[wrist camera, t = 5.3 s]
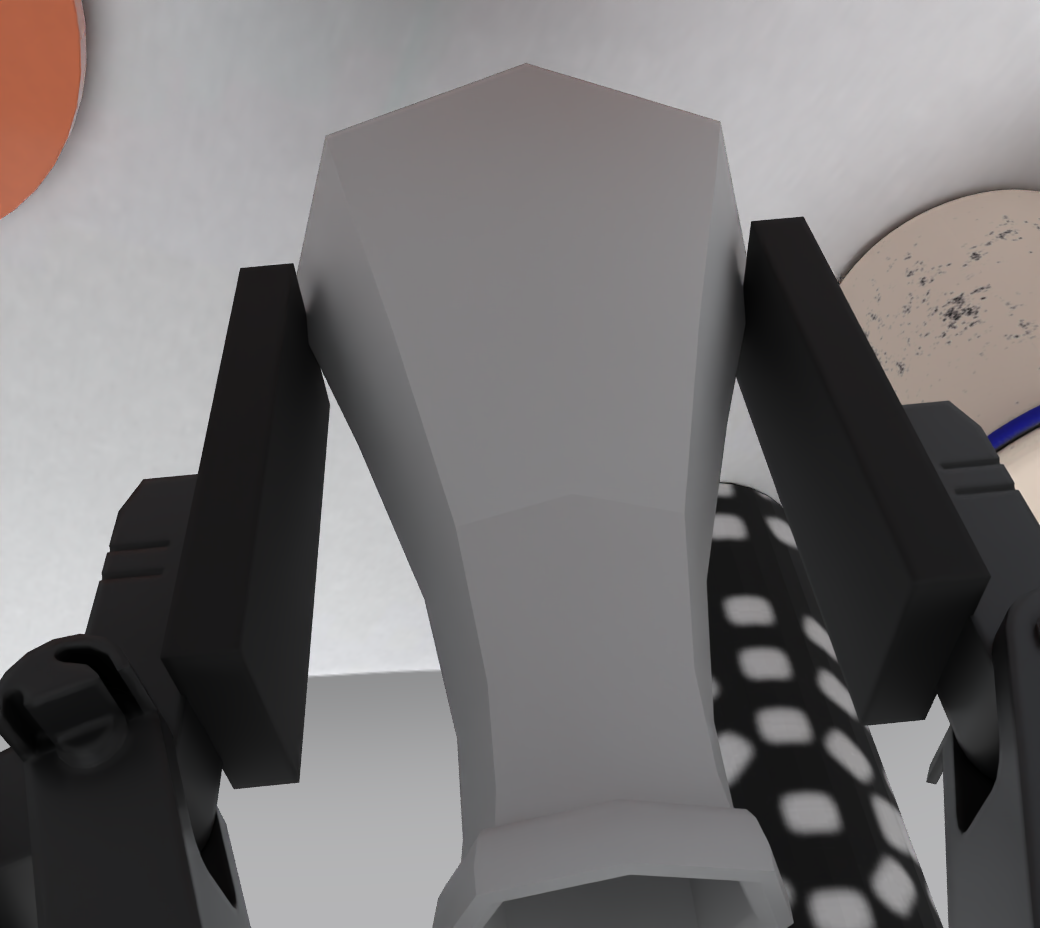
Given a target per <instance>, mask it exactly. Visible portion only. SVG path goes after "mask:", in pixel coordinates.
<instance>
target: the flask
mask: <svg viewBox="0 0 1040 928" xmlns="http://www.w3.org/2000/svg"><path fill="white" fill-rule="evenodd" d="M746 259H747V257H746V251H745V246H744V241H743V236H742V231H741V226H740V221H739V215H738V210H737V205H736V200H735V195H734V190H733V184H732V179H731V174H730V169H729V164H728V159H727V153H726V148H725V143H724V138H723V133H722V128H721V123H720V121H717V120H713V119H710V118H707V117H703V116H700V115H697V114H693V113H690V112H687V111H683V110H680V109H677V108H673V107H670V106H667V105H663V104H660V103H657V102H653V101H650V100H647V99H643V98H640V97H637V96H633V95H630V94H627V93H623V92H620V91H617V90H613V89H610V88H607V87H604V86H600V85H597V84H594V83H590V82H587V81H584V80H580V79H577V78H574V77H570V76H567V75H564V74H560V73H557V72H554V71H550V70H547V69H544V68H540V67H537V66H534V65H530V64H527V63H525V64H522V65H519V66H517V67H514V68H511V69H508V70H506V71H503V72H500V73H497V74H495V75H492V76H489V77H486V78H484V79H481V80H478V81H475V82H472V83H470V84H467V85H464V86H461V87H459V88H456V89H453V90H450V91H448V92H445V93H442V94H439V95H437V96H434V97H431V98H428V99H426V100H423V101H420V102H417V103H415V104H412V105H409V106H406V107H404V108H401V109H398V110H395V111H393V112H390V113H387V114H384V115H382V116H379V117H376V118H373V119H370V120H368V121H365V122H362V123H359V124H357V125H354V126H351V127H348V128H346V129H343V130H340V131H337V132H335V133H332V134H329V135H326V137H325V142H324V147H323V151H322V156H321V161H320V166H319V171H318V175H317V180H316V185H315V190H314V194H313V199H312V204H311V209H310V214H309V218H308V223H307V228H306V233H305V238H304V242H303V247H302V252H301V257H300V261H299V266H298V271H297V279H298V283H299V287H300V291H301V295H302V299H303V302H304V306H305V310H306V317H307V329H308V341H309V345H310V347H311V349H312V351H313V353H314V355H315V358H316V360H317V362H318V364H319V366H320V368H321V370H322V372H323V374H324V376H325V378H326V380H327V382H328V384H329V386H330V388H331V390H332V392H333V394H334V396H335V398H336V400H337V403H338V405H339V407H340V409H341V411H342V413H343V415H344V417H345V419H346V421H347V423H348V425H349V427H350V429H351V431H352V433H353V435H354V437H355V439H356V441H357V443H358V445H359V448H360V450H361V452H362V455H363V457H364V459H365V462H366V464H367V466H368V469H369V471H370V473H371V476H372V478H373V480H374V483H375V485H376V487H377V490H378V492H379V494H380V497H381V499H382V501H383V504H384V506H385V508H386V511H387V513H388V515H389V518H390V520H391V522H392V525H393V527H394V529H395V532H396V534H397V536H398V539H399V541H400V543H401V546H402V548H403V550H404V553H405V555H406V557H407V560H408V562H409V564H410V567H411V569H412V571H413V574H414V576H415V578H416V581H417V583H418V585H419V588H420V590H421V592H422V595H423V597H424V599H425V604H426V608H427V612H428V616H429V621H430V625H431V629H432V634H433V638H434V642H435V646H436V651H437V655H438V659H439V663H440V668H441V672H442V676H443V681H444V685H445V689H446V693H447V697H448V702H449V706H450V710H451V715H452V719H453V723H454V728H455V732H456V736H457V744H458V761H459V777H460V778H459V779H460V797H461V814H462V831H463V846H462V858H461V863H460V865H459V866H458V868H457V869H456V871H455V872H454V874H453V875H452V877H451V878H450V880H449V881H448V883H447V884H446V886H445V887H444V889H443V891H442V893H441V894H440V896H439V898H438V902H437V907H436V912H435V917H434V923H433V928H788V927H789V926H790V925H792V924H793V923H794V922H793V917H792V912H791V907H790V903H789V898H788V895H787V892H786V889H785V887H784V884H783V881H782V878H781V875H780V873H779V870H778V867H777V864H776V862H775V859H774V856H773V853H772V850H771V848H770V845H769V843H768V841H767V839H766V837H765V835H764V833H763V831H762V829H761V827H760V825H759V823H758V821H757V819H756V817H755V816H753V815H752V814H751V813H750V812H749V811H748V810H747V809H737V808H734V807H733V803H732V799H731V794H730V790H729V785H728V781H727V777H726V772H725V768H724V763H723V759H722V755H721V750H720V746H719V741H718V737H717V733H716V728H715V724H714V715H713V696H712V677H711V658H710V639H709V620H708V601H707V582H706V581H707V574H708V566H709V558H710V551H711V543H712V535H713V527H714V520H715V512H716V504H717V497H718V489H719V481H720V474H721V466H722V458H723V450H724V443H725V435H726V427H727V421H728V416H729V411H730V405H731V400H732V394H733V389H734V384H735V378H736V373H737V367H738V362H739V357H740V351H741V346H742V340H743V335H744V330H745V324H746V321H745V306H744V292H743V282H744V274H745V266H746Z"/></svg>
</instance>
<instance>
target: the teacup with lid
mask: <svg viewBox="0 0 1040 928" xmlns="http://www.w3.org/2000/svg"><path fill="white" fill-rule="evenodd" d="M839 286H840V288H841V289H842V291H843V293H844V295H845V297H846V299H847V301H848V303H849V305H850V307H851V309H852V311H853V312H854V314H855V316H856V318H857V320H858V322H859V324H860V326H861V328H862V330H863V332H864V333H865V335H866V337H867V339H868V341H869V343H870V345H871V347H872V349H873V351H874V353H875V355H876V356H877V358H878V360H879V362H880V364H881V366H882V368H883V370H884V372H885V374H886V376H887V378H888V379H889V381H890V383H891V385H892V387H893V389H894V391H895V393H896V395H897V397H898V399H899V400H900V402H901V404H902V405H906V404H917V403H927V402H938V401H950V402H951V403H953V404H954V405H955V406H956V407H958V408H959V409H960V410H961V411H963V412H964V413H965V414H966V415H968V416H969V417H970V418H971V419H972V420H974V421H975V422H976V423H977V424H979V425H980V426H981V427H982V429H983V430H984V432H985V434H986V435H987V437H988V439H989V440H990V442H991V444H992V446H993V447H994V449H995V451H996V452H997V454H998V456H999V457H1000V464H1004V466H1005V467H1006V469H1007V471H1008V472H1009V474H1010V476H1011V478H1012V479H1013V481H1014V483H1015V485H1014V486H1015V490H1019V491H1020V493H1021V494H1022V496H1023V498H1024V499H1025V501H1026V503H1027V505H1028V506H1029V508H1030V510H1031V511H1032V513H1033V515H1034V516H1035V518H1036V520H1037V521H1038V523H1039V525H1040V192H1039V191H1031V190H1012V189H1010V190H996V191H989V192H983V193H978V194H974V195H970V196H965V197H962V198H959V199H956V200H953V201H950V202H947V203H944V204H942V205H939V206H937V207H934V208H932V209H930V210H928V211H926V212H924V213H922V214H920V215H918V216H916V217H914V218H913V219H911V220H909V221H907V222H906V223H904V224H902V225H901V226H900V227H898V228H897V229H895V230H894V231H892V232H891V233H889V234H888V235H887V236H885V237H884V238H883V239H882V240H880V241H879V242H878V243H877V244H876V245H875V246H873V247H872V248H871V249H870V250H869V251H868V252H867V253H866V254H865V255H864V256H863V257H862V258H861V259H860V260H859V261H858V262H857V263H856V264H855V266H854V267H853V268H852V269H851V270H850V272H849V273H848V274H847V275H846V277H845V278H844V280H843V281H842V282H841V284H840V285H839Z"/></svg>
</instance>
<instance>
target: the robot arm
mask: <svg viewBox="0 0 1040 928" xmlns="http://www.w3.org/2000/svg"><path fill="white" fill-rule="evenodd" d="M743 292H744V306H745V321H746V324H745V330H744V335H743V340H742V346H741V351H740V357H739V362H738V367H737V373H736V378H737V381H738V384H739V386H740V389H741V392H742V395H743V398H744V400H745V403H746V406H747V409H748V412H749V414H750V417H751V420H752V423H753V426H754V428H755V431H756V434H757V437H758V440H759V442H760V445H761V448H762V451H763V454H764V456H765V459H766V462H767V465H768V467H769V470H770V473H771V476H772V479H773V481H774V484H775V487H776V490H777V493H778V495H779V498H780V501H781V504H782V507H783V509H784V512H785V515H786V518H787V521H788V523H789V526H790V529H791V532H792V535H793V537H794V540H795V543H796V546H797V549H798V551H799V554H800V557H801V560H802V563H803V565H804V568H805V571H806V574H807V577H808V579H809V582H810V585H811V588H812V591H813V593H814V596H815V599H816V602H817V605H818V607H819V610H820V613H821V616H822V619H823V621H824V624H825V627H826V630H827V633H828V635H829V638H830V641H831V644H832V647H833V649H834V652H835V655H836V658H837V661H838V663H839V666H840V669H841V672H842V675H843V677H844V680H845V683H846V686H847V688H848V691H849V694H850V697H851V700H852V702H853V705H854V708H855V711H856V714H857V716H858V719H859V722H860V725H861V726H867V725H876V724H887V723H896V722H907V721H916V720H925V718H926V716H927V714H928V712H929V709H930V708H931V705H932V703H933V701H934V699H935V697H936V695H937V694H938V697H939V699H940V701H941V704H942V706H943V708H944V710H945V713H946V715H947V717H948V720H949V722H950V726H949V728H948V731H947V732H946V734H945V736H944V738H943V740H942V742H941V744H940V746H939V748H938V750H937V752H936V754H935V756H934V758H933V760H932V762H931V764H930V767H929V772H928V777H927V781H926V782H928V783H933V784H936V783H937V782H938V780H939V778H940V776H941V774H942V772H943V783H944V807H945V808H944V809H945V810H944V811H945V838H946V867H947V895H948V922H949V928H1040V525H1039V523H1038V521H1037V520H1036V518H1035V516H1034V515H1033V513H1032V511H1031V510H1030V508H1029V506H1028V505H1027V503H1026V501H1025V499H1024V498H1023V496H1022V494H1021V493H1020V491H1019V490H1015V486H1014V485H1015V483H1014V481H1013V479H1012V478H1011V476H1010V474H1009V472H1008V471H1007V469H1006V467H1005V466H1004V464H1000V457H999V456H998V454H997V452H996V451H995V449H994V447H993V446H992V444H991V442H990V440H989V439H988V437H987V435H986V434H985V432H984V430H983V429H982V427H981V426H980V425H979V424H977V423H976V422H975V421H974V420H972V419H971V418H970V417H969V416H968V415H966V414H965V413H964V412H963V411H961V410H960V409H959V408H958V407H956V406H955V405H954V404H953V403H951V402H950V401H938V402H927V403H917V404H906V405H902V404H901V402H900V400H899V399H898V397H897V395H896V393H895V391H894V389H893V387H892V385H891V383H890V381H889V379H888V378H887V376H886V374H885V372H884V370H883V368H882V366H881V364H880V362H879V360H878V358H877V356H876V355H875V353H874V351H873V349H872V347H871V345H870V343H869V341H868V339H867V337H866V335H865V333H864V332H863V330H862V328H861V326H860V324H859V322H858V320H857V318H856V316H855V314H854V312H853V311H852V309H851V307H850V305H849V303H848V301H847V299H846V297H845V295H844V293H843V291H842V289H841V288H840V286H839V284H838V282H837V280H836V278H835V276H834V274H833V272H832V270H831V268H830V266H829V265H828V263H827V261H826V259H825V257H824V255H823V253H822V251H821V249H820V247H819V245H818V244H817V242H816V240H815V238H814V236H813V234H812V232H811V230H810V228H809V226H808V224H807V222H806V221H805V219H804V217H794V218H783V219H772V220H761V221H751V228H750V235H749V243H748V251H747V259H746V266H745V274H744V282H743ZM329 410H330V403H329V399H328V395H327V391H326V388H325V384H324V380H323V376H322V372H321V368H320V366H319V364H318V362H317V360H316V358H315V355H314V353H313V351H312V349H311V347H310V345H309V341H308V329H307V317H306V310H305V306H304V302H303V299H302V295H301V291H300V287H299V283H298V279H297V275H296V272H295V268H294V264H293V263H291V264H280V265H269V266H258V267H247V268H240V272H239V277H238V282H237V287H236V291H235V296H234V301H233V306H232V311H231V316H230V321H229V325H228V330H227V335H226V340H225V345H224V350H223V354H222V359H221V364H220V369H219V374H218V379H217V384H216V388H215V393H214V398H213V403H212V408H211V413H210V418H209V422H208V427H207V432H206V437H205V442H204V447H203V451H202V456H201V461H200V466H199V471H198V474H194V475H183V476H173V477H162V478H152V479H143V480H142V482H141V483H140V484H139V486H138V487H137V488H136V489H135V491H134V492H133V493H132V495H131V496H130V497H129V499H128V500H127V501H126V502H125V504H124V505H123V506H122V508H121V509H120V510H119V512H118V515H117V519H116V523H115V526H114V530H113V534H112V537H111V541H110V545H109V547H110V552H108V553H107V555H106V559H105V563H104V566H103V570H102V581H99V585H98V588H97V592H96V596H95V599H94V603H93V607H92V610H91V614H90V617H89V621H88V625H87V628H86V632H85V634H77V635H72V636H67V637H62V638H57V639H53V640H51V641H49V642H47V643H45V644H43V645H41V646H39V647H37V648H35V649H33V650H31V651H30V652H28V653H26V654H25V655H24V656H23V657H22V658H21V659H20V660H18V661H17V662H16V663H15V664H14V665H13V666H12V667H11V668H10V669H8V670H7V671H6V672H5V674H4V675H3V677H2V678H1V680H0V735H1V736H2V737H3V738H4V740H5V741H6V742H7V743H8V744H9V745H10V748H8V749H6V750H4V751H2V752H0V928H251V926H250V923H249V918H248V914H247V910H246V906H245V901H244V897H243V893H242V889H241V884H240V880H239V876H238V872H237V868H236V864H235V859H234V855H233V851H232V846H231V843H230V838H229V834H228V830H227V825H226V823H225V821H224V819H223V817H222V815H221V813H220V811H219V809H218V807H217V800H218V793H219V786H220V779H221V772H222V769H223V771H224V772H225V774H226V776H227V777H228V779H229V781H230V783H231V785H232V787H233V788H234V789H240V788H250V787H260V786H270V785H279V784H290V783H299V779H300V767H301V754H302V742H303V741H302V740H303V729H304V717H305V704H306V693H307V680H308V668H309V656H310V644H311V631H312V619H313V607H314V594H315V582H316V570H317V558H318V545H319V533H320V521H321V508H322V496H323V484H324V472H325V459H326V447H327V435H328V422H329Z"/></svg>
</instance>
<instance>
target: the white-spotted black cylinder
mask: <svg viewBox="0 0 1040 928" xmlns="http://www.w3.org/2000/svg"><path fill="white" fill-rule="evenodd" d="M706 582H707V601H708V620H709V639H710V658H711V677H712V696H713V715H714V724H715V728H716V733H717V737H718V741H719V746H720V750H721V755H722V759H723V763H724V768H725V772H726V777H727V781H728V785H729V790H730V794H731V799H732V803H733V807H734V808H737V809H747V810H748V811H749V812H750V813H751V814H752V815H753V816H755V817H756V819H757V821H758V823H759V825H760V827H761V829H762V831H763V833H764V835H765V837H766V839H767V841H768V843H769V845H770V848H771V850H772V853H773V856H774V859H775V862H776V864H777V867H778V870H779V873H780V875H781V878H782V881H783V884H784V887H785V889H786V892H787V895H788V898H789V903H790V907H791V912H792V917H793V922H794V923H793V924H792V925H790V926H789V927H788V928H943V926H942V923H941V921H940V918H939V915H938V913H937V910H936V907H935V905H934V902H933V900H932V897H931V894H930V891H929V888H928V886H927V883H926V881H925V878H924V875H923V872H922V870H921V867H920V864H919V862H918V859H917V856H916V854H915V851H914V848H913V846H912V843H911V840H910V837H909V835H908V832H907V830H906V827H905V824H904V821H903V819H902V816H901V813H900V811H899V808H898V805H897V803H896V800H895V797H894V794H893V792H892V789H891V787H890V784H889V781H888V778H887V776H886V773H885V770H884V768H883V765H882V762H881V760H880V757H879V754H878V752H877V749H876V746H875V743H874V741H873V738H872V736H871V733H870V730H869V727H868V725H867V726H861V725H860V722H859V719H858V716H857V714H856V711H855V708H854V705H853V702H852V700H851V697H850V694H849V691H848V688H847V686H846V683H845V680H844V677H843V675H842V672H841V669H840V666H839V663H838V661H837V658H836V655H835V652H834V649H833V647H832V644H831V641H830V638H829V635H828V633H827V630H826V627H825V624H824V621H823V619H822V616H821V613H820V610H819V607H818V605H817V602H816V599H815V596H814V593H813V591H812V588H811V585H810V582H809V579H808V577H807V574H806V571H805V568H804V565H803V563H802V560H801V557H800V554H799V551H798V549H797V546H796V543H795V540H794V537H793V535H792V532H791V529H790V526H789V523H788V521H787V518H786V515H785V512H784V509H783V507H782V506H780V505H779V504H778V503H777V502H775V501H774V500H773V499H771V498H770V497H769V496H766V495H764V494H762V493H760V492H758V491H755V490H753V489H750V488H746V487H742V486H738V485H734V484H723V483H719V489H718V497H717V504H716V512H715V520H714V527H713V535H712V543H711V551H710V558H709V566H708V574H707V581H706Z"/></svg>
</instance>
